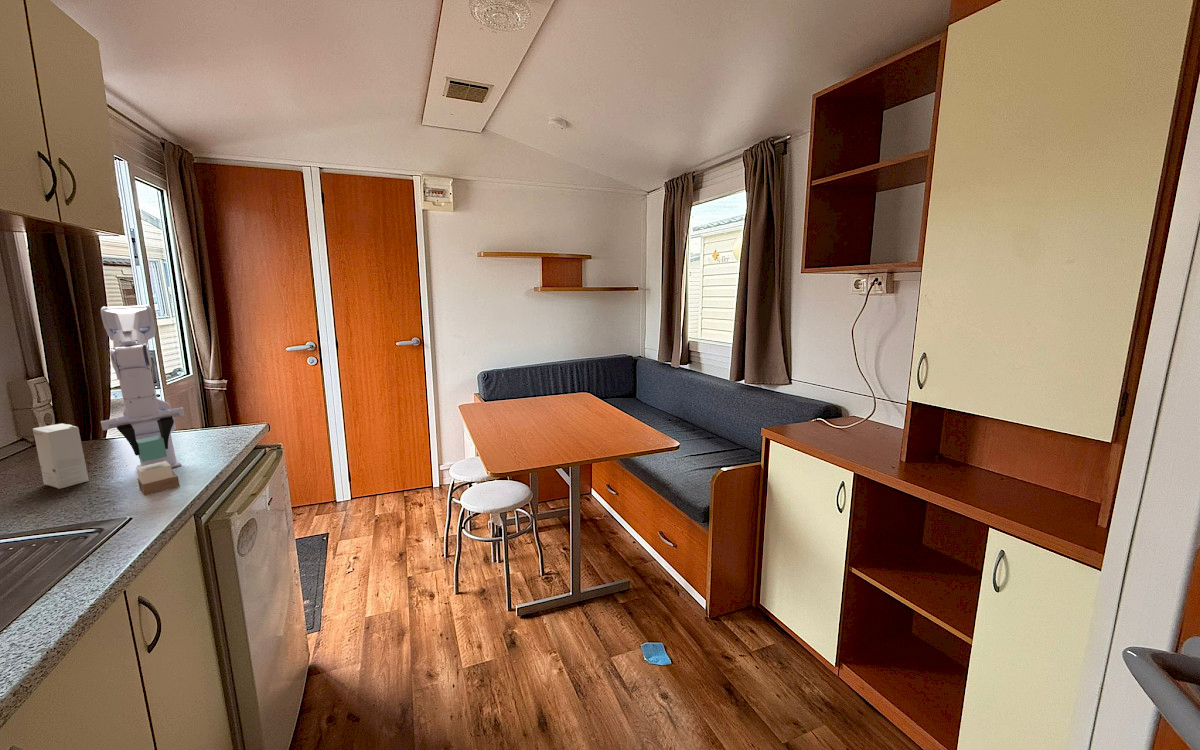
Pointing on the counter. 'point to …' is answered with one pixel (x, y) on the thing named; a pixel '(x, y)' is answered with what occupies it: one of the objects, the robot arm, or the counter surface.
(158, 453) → the teal block
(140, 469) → the cream middle slab
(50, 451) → the skincare box
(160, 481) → the walnut base slab
